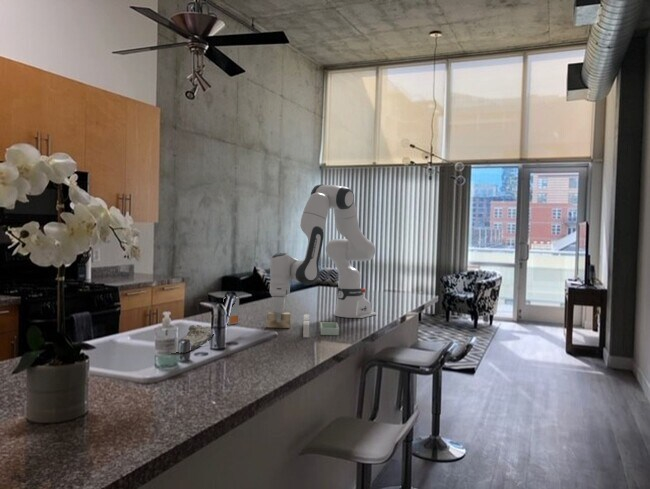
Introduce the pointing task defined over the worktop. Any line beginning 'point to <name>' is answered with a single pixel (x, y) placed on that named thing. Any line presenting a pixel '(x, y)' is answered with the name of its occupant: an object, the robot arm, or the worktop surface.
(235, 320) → the skincare box
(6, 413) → the worktop surface
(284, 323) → the bar
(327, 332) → the pale green tray
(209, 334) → the long grey stone
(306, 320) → the door edge
